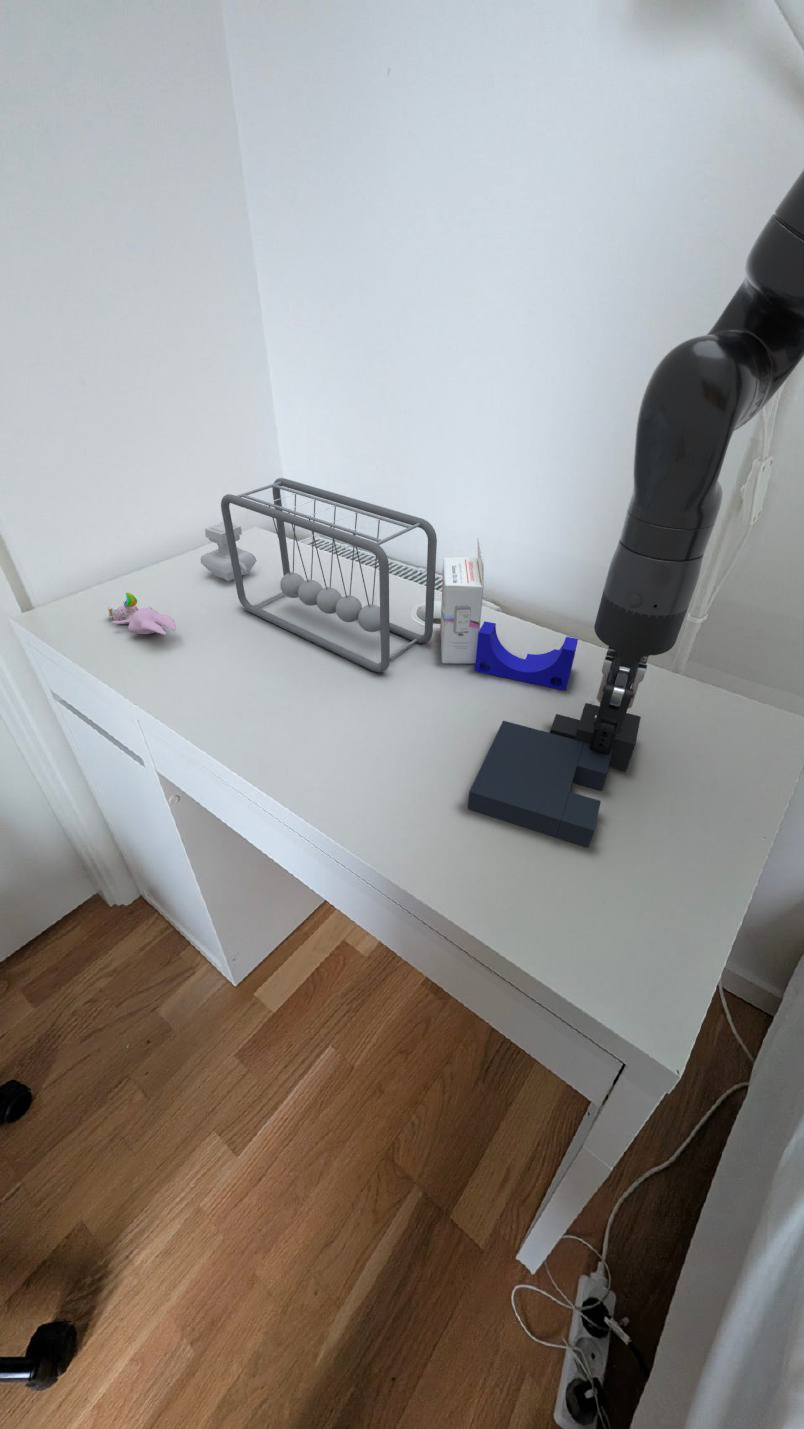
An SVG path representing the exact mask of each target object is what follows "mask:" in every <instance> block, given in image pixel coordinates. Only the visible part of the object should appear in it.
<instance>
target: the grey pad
mask: <svg viewBox="0 0 804 1429" xmlns="http://www.w3.org/2000/svg"><path fill="white" fill-rule="evenodd" d="M589 745H590V744H589V743H585V742H581V741H578V740H574V739H570V738H566V737H563V736H559V735H555V734H552V733H550V732H547V731H545V730H544V731H543V730H540V729H536V728H532V727H528V726H526V725H521V724H518V723H513V722H510V721H507V720H502V722H501V724H500V726H499V728H498V731H497V732H496V734H495V737H494V739H493V741H492V743H491V745H490V748H489V749H488V751H487V753H486V756H485V758H484V760H483V762H482V764H481V766H480V768H479V770H478V773H476V777H475V778H474V781H473V783H472V785H471V787H470V790H469V792H468V801H467V809H468V810H470V811H474V812H477V813H480V814H483V815H487V816H490V817H491V818H496V819H499V820H501V821H505V822H508V823H511V824H514V825H518V826H521V827H523V828H526V829H529V830H533V831H535V832H539V833H542V834H546V835H547V836H552V837H555V838H557V839H561V840H564V841H567V842H570V843H573V844H576V845H579V846H582V847H585V848H590V845H591V842H592V838H593V835H594V832H595V829H596V825H597V820H598V815H599V810H600V807H601V803H602V801H601V800H599V799H595V798H593V797H589V796H585V795H582V794H579V793H575V792H572V791H571V789H572V786H573V784H575V785H576V784H577V785H581V786H583V787H587V788H591V789H593V790H597V791H601V792H602V791H603V788H604V786H605V785H604V784H605V782H606V778H607V775H608V772H609V768H610V767H609V763H610V759H611V755H612V750H611V752H610V753H609V754H602V753H598V752H595V751H592V750H590V749H589Z"/></svg>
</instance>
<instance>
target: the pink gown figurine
mask: <svg viewBox="0 0 804 1429" xmlns="http://www.w3.org/2000/svg"><path fill="white" fill-rule="evenodd" d="M125 595H126V599H125V601H124V600H123V601H122V603H123V605H121V606H119V607H117V608H116V609H114V608H112V607H111V608H110V607H109V606H107V609H108V618H111V619H112V622H111V624H112V625H114V626H115V625H125V624H128V626H127V627H128V628H127V629H128V631H129V632H130V633H133V634H140V635H151V634H154V633H158V634H160V635H163V636H166V635H167V632H166V631H165V629H164V628H166V629H169V630H171V631H173V632H175V631H176V629H177V626H176V622H175V620H174V617H172V616H171V615H168V614H161V613H159V611H157V610H156V609H153V607H152V606H148V607H141V608H138V606H137V604H138V599H137V597H135V595H134V594H133V593H130V592H125ZM163 627H164V628H163Z"/></svg>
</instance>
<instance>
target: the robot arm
mask: <svg viewBox="0 0 804 1429" xmlns="http://www.w3.org/2000/svg"><path fill="white" fill-rule="evenodd" d="M744 272H745V273H744V274H745V276H744V278H743V281H742V282H741V283H740V285H739V286H738V288H737V290H736V291H735V293H734V294H733V296H731V299H730V300H729V302H728V303H727V305H726V306H725V308H724V310H723V311H722V312H721V315H719V317H718V319H717V320H716V322H715V323H714V324H713V326H712V327H711V328H710V329H709V331H708V332H707V334H704V335H700V336H696V337H692V338H689V339H686V340H684V341H683V342H681V343H679V344H678V345H676V346H675V347H673V348H672V349H671V350H669V351H668V352H667V353H666V354H665V355H664V356H663V357H662V358H661V359H660V361H659V362H658V364H657V365H656V367H655V368H654V370H653V371H652V373H651V376H650V378H649V380H648V382H647V384H646V387H645V390H644V391H643V392H644V393H643V396H642V398H641V402H640V406H639V409H638V416H637V420H636V421H637V422H636V429H635V430H636V431H635V443H634V455H633V456H634V457H633V471H632V472H633V474H632V475H633V477H632V478H633V487H632V493H631V496H630V499H629V502H628V506H627V510H626V512H625V517H624V520H623V524H622V529H621V532H620V536H619V539H618V543H617V545H616V549H615V551H614V553H613V556H612V557H611V561H610V564H609V567H608V571H607V573H606V574H607V575H606V579H605V583H604V587H603V591H602V595H601V598H600V603H599V606H598V610H597V614H596V618H595V622H594V628H593V629H594V633H595V635H596V637H597V638H598V640H600V641H601V642H602V643H603V644H604V645H606V646H607V651H606V654H605V658H604V661H603V664H602V668H601V673H602V677H601V682H600V685H599V688H598V691H597V694H596V700H597V701H598V703H599V706H600V707H599V710H598V714H597V715H595V718H594V722H593V725H594V731H593V734H592V738H591V741H590V745H589V749H590V750H592V751H595V752H598V753H602V754H609V753H610V752H611V749H612V746H613V743H614V740H615V737H616V735H619V732H621V731H622V724H623V721H624V718H625V715H626V713H628V710H629V709H631V708H632V707H633V704H634V702H635V698H636V694H637V691H638V688H639V685H640V683H641V682H643V681H644V678H645V675H646V671H647V668H648V664H647V663H648V661H649V660H648V659H649V657H650V656H659V655H662V654H665V653H667V652H668V651H670V650H672V649H673V647H674V646H675V645H676V643H677V640H678V638H679V637H678V636H679V634H680V632H681V628H682V625H683V623H684V621H685V617H686V615H687V611H688V609H689V606H690V603H691V600H692V598H693V595H694V592H695V590H696V587H697V584H698V581H699V578H700V574H701V568H702V563H703V559H704V557H705V556H704V555H705V553H706V550H707V548H708V544H709V542H710V540H711V537H712V534H713V530H714V528H715V525H716V522H717V519H718V516H719V512H720V509H721V505H722V500H723V488H722V485H721V484H720V482H719V479H720V475H721V471H722V468H723V464H724V461H725V457H726V454H727V451H728V449H729V444H730V442H731V439H732V437H733V434H734V432H735V431H737V430H739V429H740V428H742V427H743V426H745V425H747V423H749V422H750V421H751V420H752V419H753V418H754V417H756V416H757V415H758V414H759V413H760V411H761V410H762V409H764V407H766V405H767V404H768V403H769V402H770V400H771V399H772V398H773V397H774V395H775V394H776V393H777V392H778V391H779V390H780V388H781V387H782V386H783V384H784V383H785V382H786V381H787V380H788V378H789V377H790V375H791V374H792V373H793V371H795V369H796V367H797V366H798V365H799V363H800V362H801V361H802V359H803V358H804V168H803V169H802V171H801V172H800V173H799V175H798V177H797V178H796V180H795V181H794V183H793V184H792V185H791V187H790V188H789V190H788V191H787V192H786V194H785V195H784V197H783V198H782V200H781V201H780V202H779V204H778V205H777V207H776V208H775V210H774V213H773V214H771V215H770V217H769V218H768V220H767V221H766V223H765V225H764V226H763V227H762V230H761V231H760V232H759V234H758V235H757V237H756V239H755V241H754V242H753V245H752V246H751V248H750V250H749V253H748V254H747V256H746V260H745V266H744Z"/></svg>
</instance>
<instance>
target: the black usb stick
mask: <svg viewBox="0 0 804 1429" xmlns="http://www.w3.org/2000/svg"><path fill="white" fill-rule="evenodd" d="M583 706H584V707H583V709H582V713H581V716H580V719H578V718H574V717H570V716H566V715H563V714H559V713H556V714H555V717H554V718H553V721H552V724H551V727H550V730H549V733H552V734H555V735H559V736H563V737H566V738H570V739H574V740H578V741H581V742H585V743H589V744H590V741H591V738H592V734H593V731H594V725H593V722H594V718H595V715H597V714H598V710H599V707H600V705H597V704H592V703H589V702H585V703H584V705H583ZM641 719H642V718H641V716H640V715H638V714H637V715H636V714H632V713H628V712H626V715H625V718H624V721H623V724H622V731H621V732H619V735H616V737H615V740H614V743H613V746H612V749H611V750H612V755H611V759H610V763H609V768H612V769H615V770H619V771H623V772H627V770H628V769H629V768H628V767H629V765H630V762H631V759H632V756H633V753H634V750H635V748H636V745H637V740H638V734H639V729H640V725H641V724H640V723H641Z"/></svg>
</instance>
